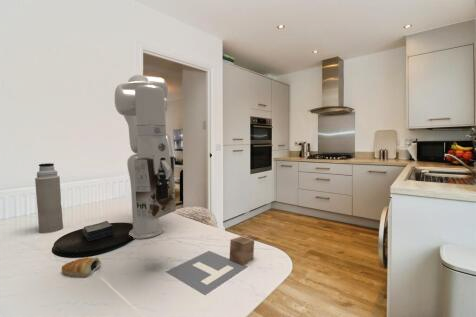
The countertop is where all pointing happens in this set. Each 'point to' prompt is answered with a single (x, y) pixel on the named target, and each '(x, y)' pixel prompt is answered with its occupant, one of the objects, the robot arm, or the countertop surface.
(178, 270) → the letter tile
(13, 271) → the countertop surface
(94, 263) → the pastry
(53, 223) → the thermos bottle
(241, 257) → the walnut block
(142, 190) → the coffee box
